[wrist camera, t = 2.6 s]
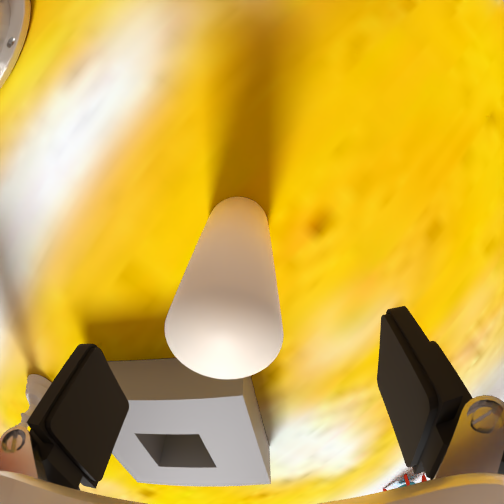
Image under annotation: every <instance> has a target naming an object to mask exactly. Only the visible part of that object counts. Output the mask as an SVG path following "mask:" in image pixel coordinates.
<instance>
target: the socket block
mask: <svg viewBox="0 0 504 504" xmlns="http://www.w3.org/2000/svg"><path fill="white" fill-rule="evenodd" d="M107 363H108V365H109V367H110V368H111V370H112V372H113V374H114V376H115V378H116V380H117V382H118V384H119V385H120V387H121V389H122V391H123V393H124V394H125V396H126V398H127V400H128V402H129V410H128V413H127V415H126V418H125V420H124V423H123V425H122V428H121V430H120V433H119V436H118V438H117V441H116V443H115V446H114V448H113V451H112V454H113V455H114V456H115V457H116V459H117V460H118V461H119V462H120V463H121V464H122V465H123V467H124V468H125V469H126V470H127V471H128V472H129V473H130V474H131V475H132V476H133V478H134V479H135V480H136V481H137V482H140V483H150V484H162V485H179V486H242V485H258V484H271V478H270V452H269V444H268V440H267V437H266V433H265V429H264V426H263V422H262V418H261V414H260V410H259V407H258V403H257V399H256V395H255V391H254V387H253V383H252V379H251V376H248V377H244V378H238V379H217V378H211V377H207V376H204V375H201V374H199V373H197V372H195V371H193V370H191V369H189V368H188V367H186V366H185V365H184V364H182V363H181V362H180V361H179V360H178V359H177V358H167V359H151V360H130V361H107Z"/></svg>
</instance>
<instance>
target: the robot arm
mask: <svg viewBox="0 0 504 504" xmlns="http://www.w3.org/2000/svg"><path fill="white" fill-rule="evenodd" d="M30 11H31V5H30V0H0V88H1V87H2V85H3V84H4V82H5V81H6V79H7V78H8V76H9V75H10V73H11V71H12V69H13V67H14V65H15V63H16V62H17V59H18V57H19V54H20V52H21V50H22V47H23V44H24V41H25V38H26V35H27V31H28V26H29V21H30ZM377 382H378V387H379V390H380V393H381V395H382V398H383V401H384V403H385V406H386V409H387V411H388V414H389V417H390V420H391V423H392V425H393V428H394V431H395V434H396V437H397V440H398V443H399V446H400V449H401V451H402V454H403V457H404V460H405V463H406V466H407V467H411V466H412V467H413V470H414V473H415V474H418V473H421V472H424V471H425V473H426V476H427V477H428V478H430V480H429V481H424V482H420V483H416V484H412V485H408V486H404V487H400V488H396V489H392V490H388V491H383V492H379V493H375V494H370V495H365V496H361V497H355V498H350V499H344V500H338V501H332V502H326V503H319V504H504V402H503V401H501V400H500V399H499V398H496V397H493V396H486V395H483V396H478V397H475V398H472V396H471V395H470V393H469V392H468V390H467V388H466V387H465V385H464V383H463V382H462V380H461V379H460V377H459V376H458V374H457V372H456V371H455V369H454V368H453V366H452V365H451V363H450V362H449V360H448V359H447V357H446V356H445V354H444V353H443V351H442V350H441V348H440V347H439V345H438V344H437V343H436V342H435V341H431V342H430V341H429V340H428V338H427V337H426V335H425V334H424V332H423V331H422V329H421V328H420V326H419V325H418V323H417V322H416V321H415V319H414V318H413V316H412V315H411V313H410V312H409V311H408V309H407V308H406V307H405V306H402V307H397V308H392V309H388V310H387V312H386V315H382V317H381V332H380V349H379V362H378V374H377ZM128 410H129V402H128V400H127V398H126V396H125V394H124V393H123V391H122V389H121V387H120V385H119V384H118V382H117V380H116V378H115V376H114V374H113V372H112V370H111V368H110V367H109V365H108V363H107V361H106V359H105V357H104V355H103V353H102V351H101V349H100V348H98V347H97V346H96V345H95V344H80V345H78V346H77V348H76V349H75V350H74V352H73V353H72V355H71V356H70V358H69V359H68V360H67V362H66V363H65V365H64V366H63V368H62V369H61V370H60V372H59V373H58V375H57V376H56V378H55V379H54V381H53V382H52V384H51V385H50V387H49V388H48V390H47V391H46V393H45V394H44V396H43V397H42V399H41V400H40V402H39V403H38V405H37V406H36V408H35V410H34V411H33V413H32V414H31V416H30V417H29V419H28V421H27V422H26V423H27V424H28V425H29V426H30V428H31V430H30V432H29V431H28V430H27V429H26V428H25V427H22V426H16V427H12V428H10V429H8V430H7V431H6V432H5V433H4V434H3V435H2V436H1V438H0V504H146V503H139V502H133V501H127V500H121V499H116V498H110V497H105V496H101V495H96V494H92V493H88V492H84V491H80V488H79V484H80V483H81V484H82V485H83V486H88V487H92V488H96V486H97V483H98V481H100V480H101V479H102V478H103V475H104V472H105V469H106V467H107V464H108V461H109V459H110V456H111V454H112V451H113V448H114V446H115V443H116V441H117V438H118V436H119V433H120V430H121V428H122V425H123V423H124V420H125V418H126V415H127V413H128Z"/></svg>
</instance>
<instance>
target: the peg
mask: <svg viewBox="0 0 504 504" xmlns="http://www.w3.org/2000/svg"><path fill="white" fill-rule="evenodd" d="M165 337H166V340H167V343H168V346H169V348H170V350H171V351H172V353H173V354H174V355H175V357H176V358H177V359H178V360H179V361H180V362H181V363H182V364H184V365H185V366H186V367H188V368H189V369H191V370H193V371H195V372H197V373H199V374H201V375H204V376H207V377H211V378H217V379H238V378H244V377H248V376H251V375H253V374H256V373H258V372H260V371H261V370H263V369H264V368H266V367H267V366H268V365H269V364H271V363H272V361H273V360H274V359H275V358H276V356H277V355H278V353H279V351H280V349H281V346H282V342H283V327H282V320H281V312H280V304H279V297H278V290H277V282H276V275H275V268H274V261H273V254H272V247H271V240H270V233H269V226H268V220H267V216H266V214H265V212H264V210H263V209H262V207H261V206H260V205H259V204H257V203H256V202H255V201H253V200H251V199H249V198H245V197H231V198H227V199H225V200H223V201H221V202H220V203H218V204H217V205H216V206H215V208H214V209H213V210H212V212H211V214H210V216H209V218H208V221H207V223H206V225H205V227H204V230H203V232H202V234H201V236H200V239H199V241H198V243H197V245H196V248H195V250H194V252H193V255H192V257H191V259H190V262H189V264H188V266H187V269H186V271H185V273H184V276H183V278H182V280H181V283H180V285H179V288H178V290H177V292H176V295H175V297H174V300H173V302H172V304H171V307H170V309H169V312H168V314H167V317H166V321H165Z"/></svg>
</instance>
